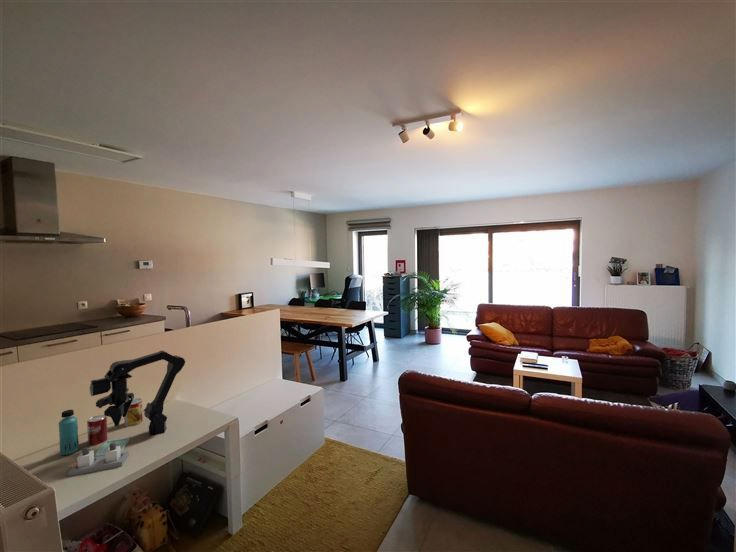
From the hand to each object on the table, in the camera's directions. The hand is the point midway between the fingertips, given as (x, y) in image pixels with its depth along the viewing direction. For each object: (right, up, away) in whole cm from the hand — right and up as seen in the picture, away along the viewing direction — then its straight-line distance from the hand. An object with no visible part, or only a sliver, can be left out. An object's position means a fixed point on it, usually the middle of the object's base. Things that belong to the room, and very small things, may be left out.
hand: (120, 421), depth 151 cm
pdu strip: (+2, -13, -14) cm, 19 cm away
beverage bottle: (-19, -13, -5) cm, 23 cm away
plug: (+7, -12, -13) cm, 19 cm away
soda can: (-14, -12, +4) cm, 19 cm away
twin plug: (-2, -12, -16) cm, 20 cm away
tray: (-2, -12, -1) cm, 12 cm away
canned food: (-10, -11, +22) cm, 27 cm away
